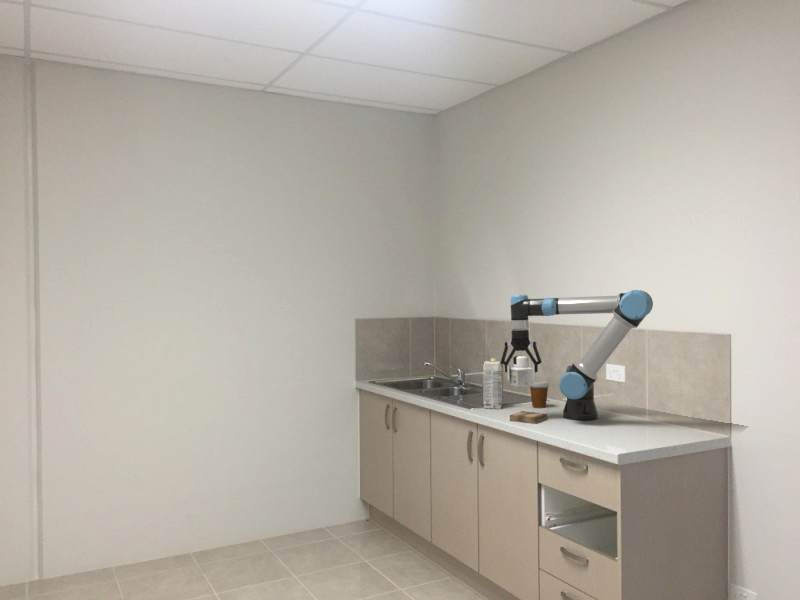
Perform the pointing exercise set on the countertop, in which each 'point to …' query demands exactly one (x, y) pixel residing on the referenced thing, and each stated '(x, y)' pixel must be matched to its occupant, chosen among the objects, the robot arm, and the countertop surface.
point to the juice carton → (493, 384)
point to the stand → (528, 417)
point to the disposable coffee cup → (539, 394)
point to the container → (521, 372)
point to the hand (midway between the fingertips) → (521, 379)
